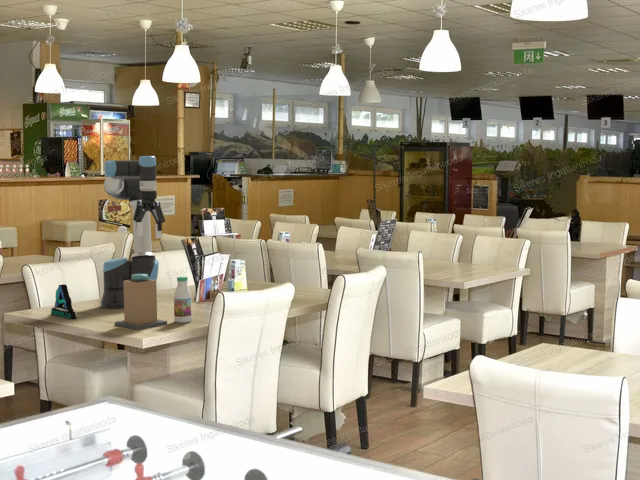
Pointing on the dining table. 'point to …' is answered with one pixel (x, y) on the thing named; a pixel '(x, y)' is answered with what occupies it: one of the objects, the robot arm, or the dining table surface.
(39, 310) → the dining table surface
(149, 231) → the robot arm
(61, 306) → the decorative sign
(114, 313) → the dining table surface
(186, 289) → the milk bottle
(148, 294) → the brown pedestal box
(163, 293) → the dining table surface
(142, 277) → the pump plunger
